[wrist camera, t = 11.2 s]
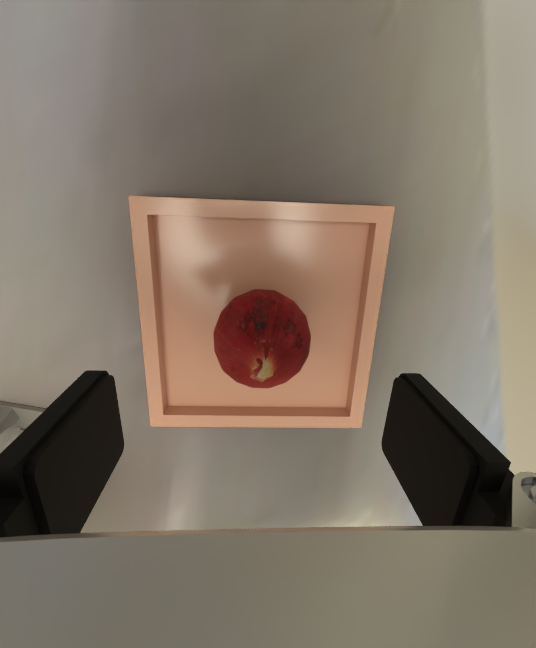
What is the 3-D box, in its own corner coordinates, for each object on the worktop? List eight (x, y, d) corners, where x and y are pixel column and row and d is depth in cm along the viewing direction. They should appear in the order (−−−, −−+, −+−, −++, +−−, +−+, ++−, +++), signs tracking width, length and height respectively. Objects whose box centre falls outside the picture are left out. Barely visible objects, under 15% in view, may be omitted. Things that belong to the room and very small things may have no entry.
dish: (140, 198, 20) (128, 195, 18) (382, 208, 21) (394, 206, 19) (158, 410, 25) (150, 426, 23) (353, 412, 26) (361, 427, 24)
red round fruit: (220, 277, 21) (200, 309, 13) (304, 280, 21) (331, 313, 14) (220, 356, 23) (203, 422, 15) (298, 358, 23) (319, 424, 16)
